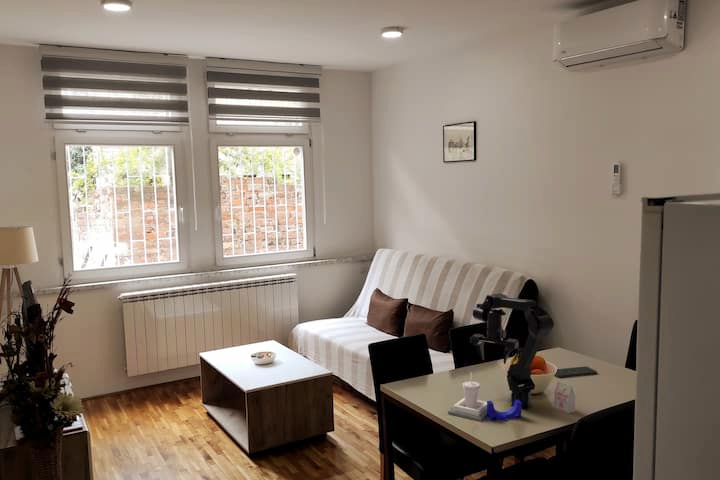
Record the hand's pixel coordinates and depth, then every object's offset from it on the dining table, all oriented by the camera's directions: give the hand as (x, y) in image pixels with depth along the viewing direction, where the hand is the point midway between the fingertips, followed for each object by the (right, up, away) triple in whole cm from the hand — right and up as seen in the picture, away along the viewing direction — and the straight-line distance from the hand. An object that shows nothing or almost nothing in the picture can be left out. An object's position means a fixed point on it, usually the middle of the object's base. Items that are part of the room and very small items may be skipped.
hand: (493, 361), depth 242 cm
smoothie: (-13, -14, -18) cm, 26 cm away
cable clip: (-1, -16, -24) cm, 29 cm away
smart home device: (+41, -11, +25) cm, 49 cm away
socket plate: (-13, -15, -18) cm, 27 cm away
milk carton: (+23, -15, -16) cm, 32 cm away
